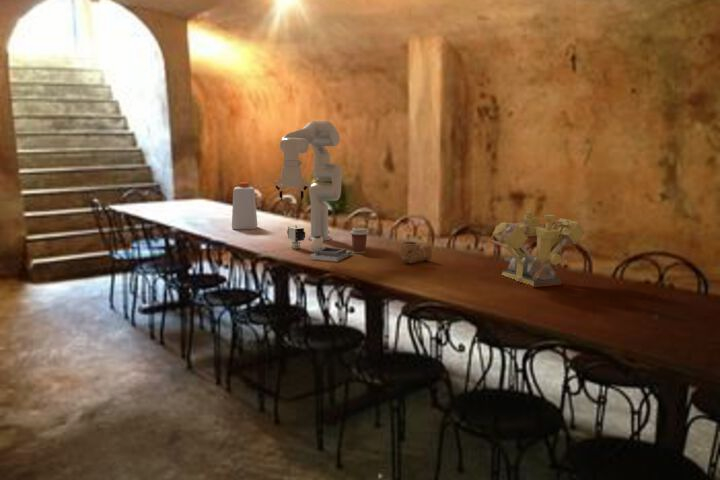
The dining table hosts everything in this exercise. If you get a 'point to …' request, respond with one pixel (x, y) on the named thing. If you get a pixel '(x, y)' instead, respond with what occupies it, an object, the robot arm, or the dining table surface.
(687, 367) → the dining table surface
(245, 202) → the plastic bottle
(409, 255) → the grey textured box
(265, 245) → the dining table surface
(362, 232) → the coffee cup
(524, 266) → the mechanical engine
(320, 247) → the pump
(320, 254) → the motor base
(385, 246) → the dining table surface
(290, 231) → the pneumatic valve
